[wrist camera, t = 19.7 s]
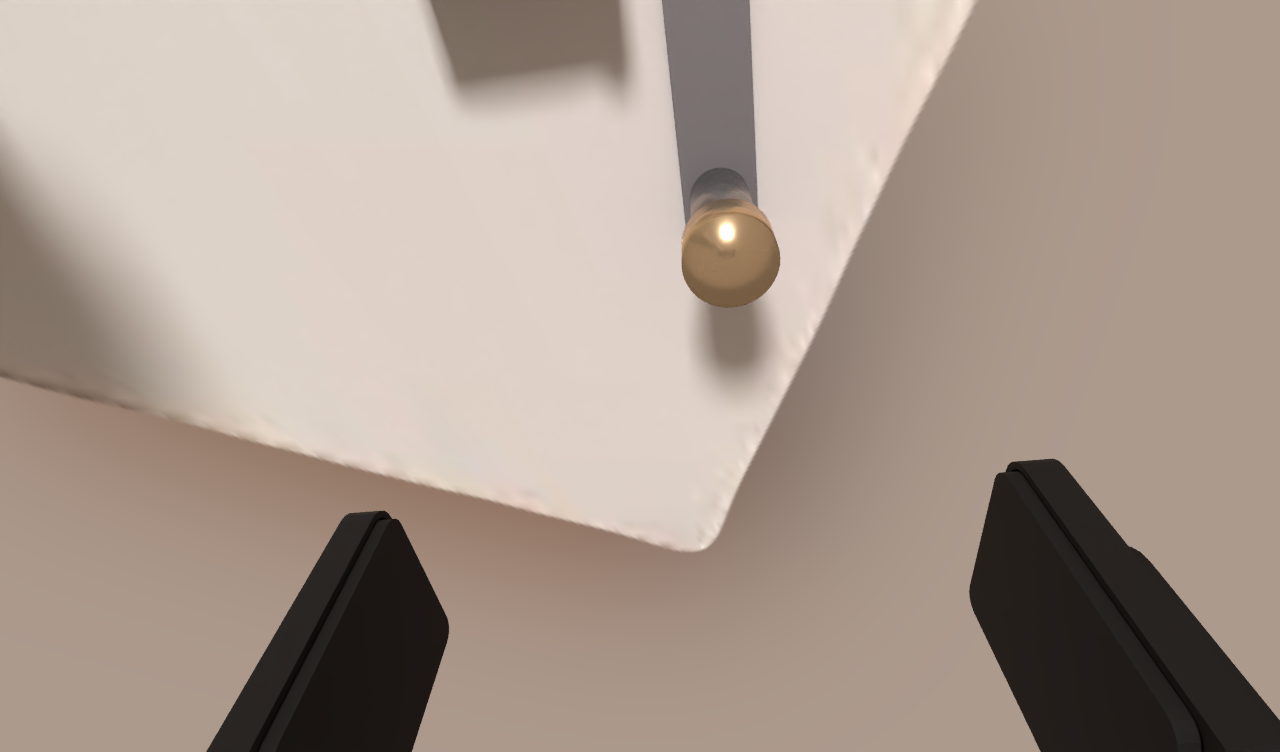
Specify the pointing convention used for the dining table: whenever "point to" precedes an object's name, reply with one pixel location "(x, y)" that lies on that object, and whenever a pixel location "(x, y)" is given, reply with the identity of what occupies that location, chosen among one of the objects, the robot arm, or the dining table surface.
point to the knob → (727, 242)
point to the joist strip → (711, 89)
